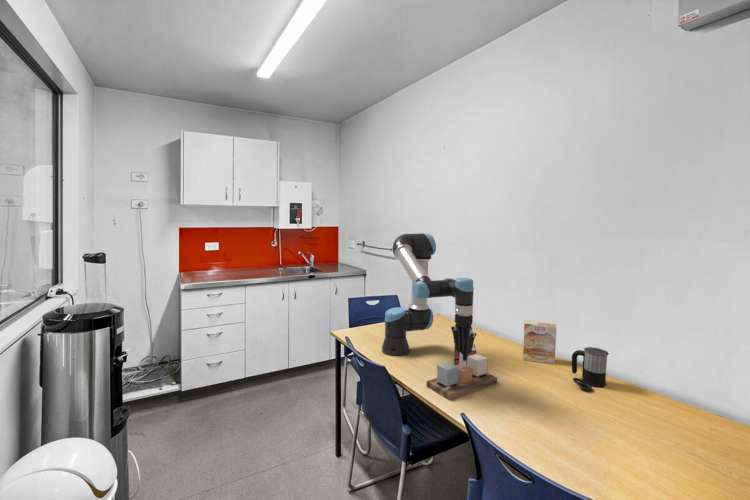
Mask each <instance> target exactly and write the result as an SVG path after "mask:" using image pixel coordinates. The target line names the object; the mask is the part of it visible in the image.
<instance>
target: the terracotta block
mask: <svg viewBox="0 0 750 500" xmlns="http://www.w3.org/2000/svg"><path fill="white" fill-rule="evenodd" d="M456 366H457V367H458V382H459V383H461V384H465V383H468V382H471V381H472V377H474V376H473V368H471V367H469V366H467V365H466V367H464V368H460V367H459V365H456Z"/></svg>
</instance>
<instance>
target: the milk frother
mask: <svg viewBox="0 0 750 500" xmlns="http://www.w3.org/2000/svg"><path fill="white" fill-rule="evenodd" d="M609 354H610V353H609V352H608V351H607V350H604V349H602V348H599V347H591V346H589V347H584V348H583V350H581V349H578V350H575V351H574V352H572V355H571V372H572V374H576V373H577V372H578V356H582V357H583V359H582V374H581V377H582V378H577V377H573V378H572V380H573V382H574V383H575V384H576V385H577V386H578V387H580V388H581V389H583V390H584V391H592V390H593V387H594V388H604V387H606V386H607V384H606V380H607V379H606V377H607V364H608V355H609Z"/></svg>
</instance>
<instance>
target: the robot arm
mask: <svg viewBox="0 0 750 500" xmlns="http://www.w3.org/2000/svg"><path fill="white" fill-rule="evenodd" d="M436 250H437V243H436V240H435V239H434V236H433V235H432V234H430V233H424V232H423V233H404V234H400V235H399V236H398V237H396V238H395V240H394V241H393V243H392V253H393V256H394V258H395V259H396V260H399V262H400V263H401V265H402V266H403V268H404V270H405V272H406V273H407V275H408V276H409V278H410V279H411V303H409V305H408V309H407V308H405V307H401V306H400V307H398V306H397V307H391V308H389V309H387V310H386V311H385V313H384V315H385V316H384V317H385V318H384V340H383V342H382V344H381V345H382V346H381V352H382V353H383V354H385V355H386V356H387V355H388V356H400V357H401V356H404V355H407V354H409V352H410V346H409V342H408V340H407V332H416V331H424V330H425V331H426V330H428V329H430V328H431V327H432V325H433V323H434V313H433V311H432V309H431V308H430V305H428V299H431V298H442V297H443V298H444V297H453V298H454V304H455V305H454V312H455V314H454V322H455V325H454V326H451V327H450V328H451V332H452V335H453V336H452V337H453V343H454V344H453V346H454V345H455V349H457V350H458V352H459V367H460V368H464V367H466V360H467V354H468V353H471V352H472V347H473V344H475V343H474V342H475V338H476V336H477V332H474V331H473V327H472V324H473V321H474V317H473V316H474V315H473V314H474V289H475V288H474V280H473V279H472V278H470V277H457V278H455V279H453V278H448V277H446V278H444V279H437V280H432V279H431V278H430V277H429V262H430V260H432V256H433V255H435V253H436Z"/></svg>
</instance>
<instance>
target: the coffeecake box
mask: <svg viewBox="0 0 750 500" xmlns="http://www.w3.org/2000/svg"><path fill="white" fill-rule="evenodd" d="M523 323H524V324H523V340H522V341H523V343H522V344H523V345H522V360H523V361H529V362H536V363H543V364H549V365H551V364H552V365H555V363H556V347H557V346H556V343H557V324H556V322H548V321H547V322H546V321H536V320H527V319H524V321H523Z"/></svg>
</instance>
